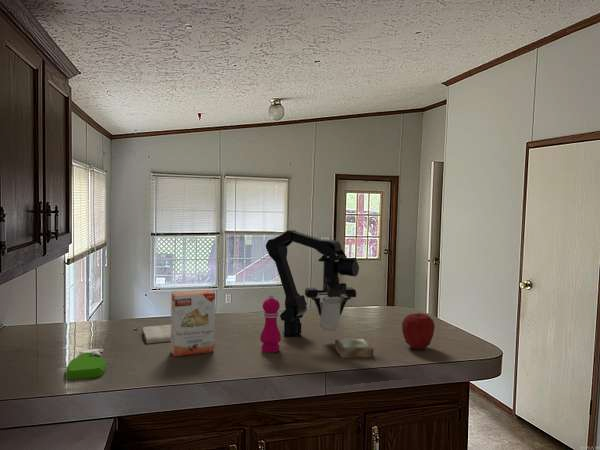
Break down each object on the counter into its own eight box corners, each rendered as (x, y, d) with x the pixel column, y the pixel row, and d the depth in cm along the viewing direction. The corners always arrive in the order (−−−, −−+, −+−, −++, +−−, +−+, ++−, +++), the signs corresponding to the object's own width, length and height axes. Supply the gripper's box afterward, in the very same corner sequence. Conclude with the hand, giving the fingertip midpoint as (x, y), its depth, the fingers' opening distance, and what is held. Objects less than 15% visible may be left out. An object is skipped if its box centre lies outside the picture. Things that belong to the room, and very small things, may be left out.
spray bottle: (63, 382, 134) (72, 356, 157) (105, 377, 138) (107, 353, 161) (63, 372, 134) (72, 348, 157) (105, 368, 138) (107, 345, 161)
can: (338, 331, 172) (339, 299, 172) (318, 330, 174) (319, 298, 173) (340, 326, 180) (341, 295, 179) (321, 325, 181) (322, 294, 181)
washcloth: (171, 329, 191) (171, 322, 191) (179, 342, 175) (179, 333, 175) (141, 332, 186) (141, 325, 186) (146, 345, 170) (146, 337, 170)
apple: (412, 341, 180) (413, 306, 180) (440, 348, 172) (441, 312, 171) (394, 347, 172) (396, 311, 171) (423, 355, 164) (424, 317, 163)
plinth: (342, 357, 159) (342, 348, 159) (334, 347, 170) (335, 338, 170) (373, 357, 161) (373, 347, 160) (364, 347, 171) (364, 338, 171)
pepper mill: (283, 348, 168) (284, 293, 167) (276, 354, 161) (277, 296, 160) (265, 346, 170) (266, 291, 170) (256, 351, 164) (257, 295, 163)
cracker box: (174, 357, 156) (174, 295, 155) (170, 352, 161) (170, 292, 160) (214, 352, 162) (215, 292, 161) (209, 347, 168) (210, 289, 167)
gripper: (310, 277, 167) (309, 320, 167) (360, 277, 169) (359, 319, 170) (305, 272, 178) (304, 313, 178) (352, 272, 180) (351, 312, 181)
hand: (330, 315), depth 177 cm, fingers closed on can, 7 cm apart
